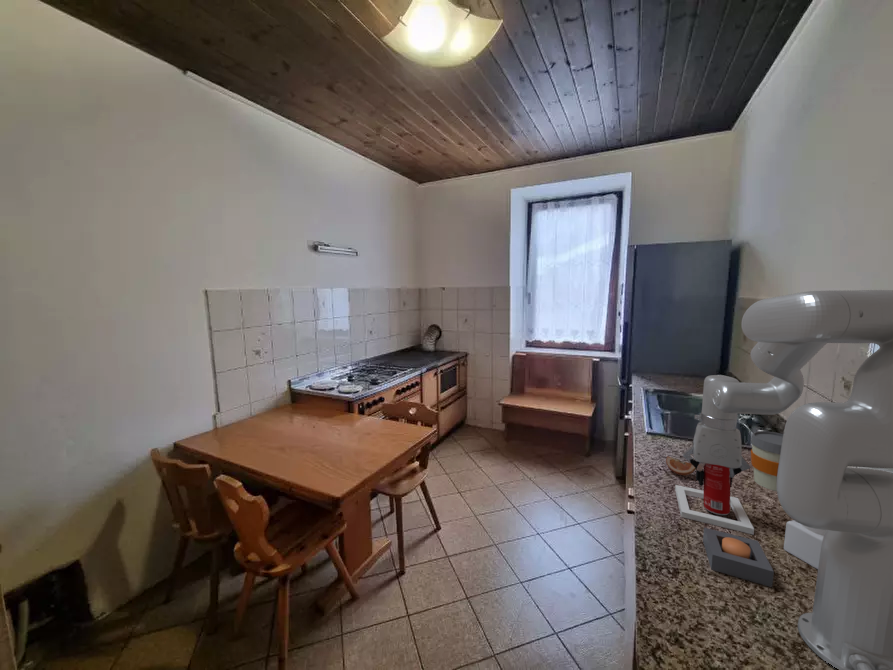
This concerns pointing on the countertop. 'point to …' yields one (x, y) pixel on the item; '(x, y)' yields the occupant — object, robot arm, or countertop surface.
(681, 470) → the fruit slice
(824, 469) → the robot arm
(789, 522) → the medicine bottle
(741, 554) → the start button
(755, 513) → the countertop surface
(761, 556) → the grey square holder
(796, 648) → the countertop surface
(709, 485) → the beverage can
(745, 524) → the white picture frame
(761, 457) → the reusable coffee cup
